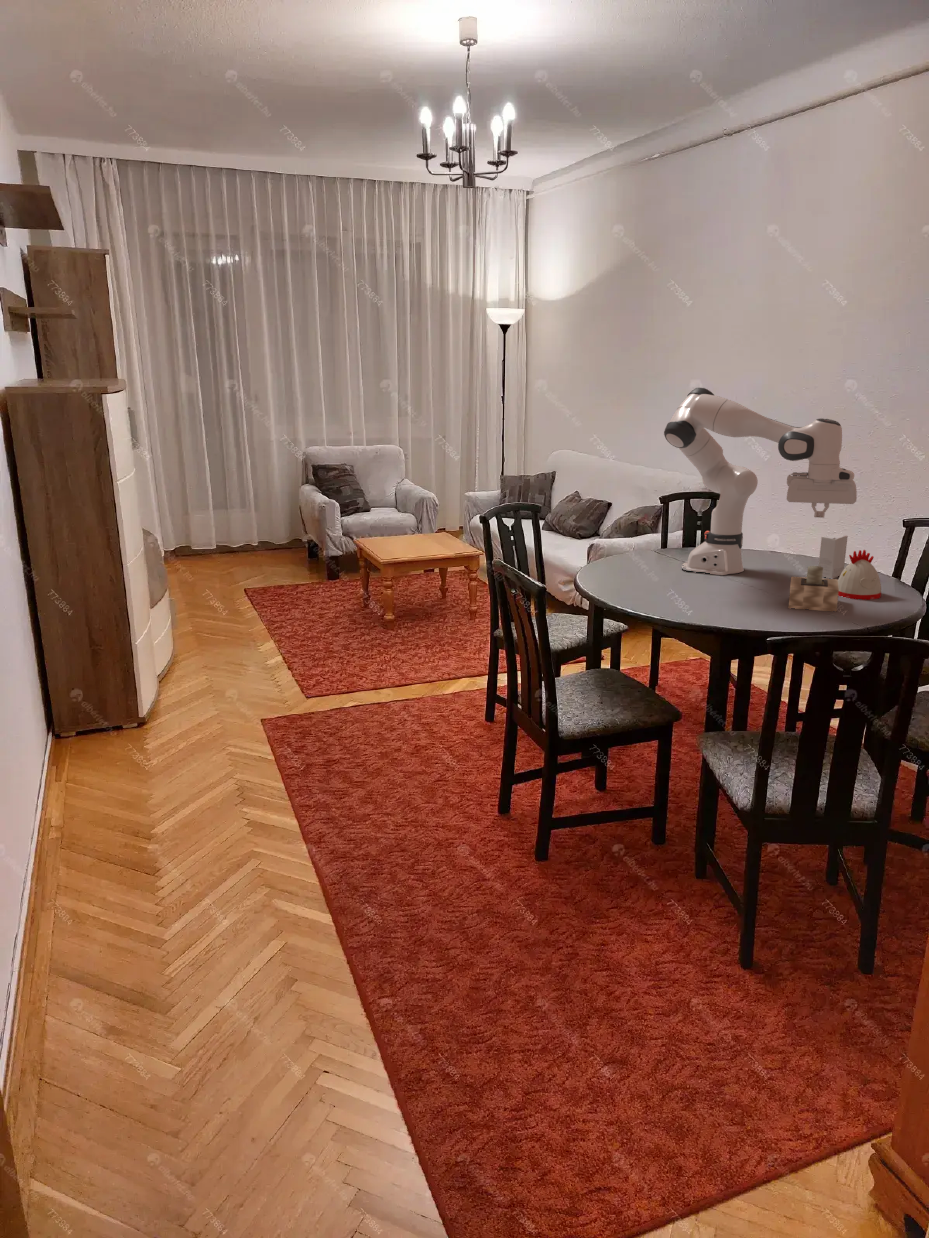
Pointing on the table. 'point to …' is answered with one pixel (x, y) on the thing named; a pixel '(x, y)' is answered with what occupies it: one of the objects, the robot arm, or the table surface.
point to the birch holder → (813, 594)
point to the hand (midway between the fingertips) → (819, 517)
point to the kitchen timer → (860, 578)
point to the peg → (814, 575)
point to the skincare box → (832, 554)
